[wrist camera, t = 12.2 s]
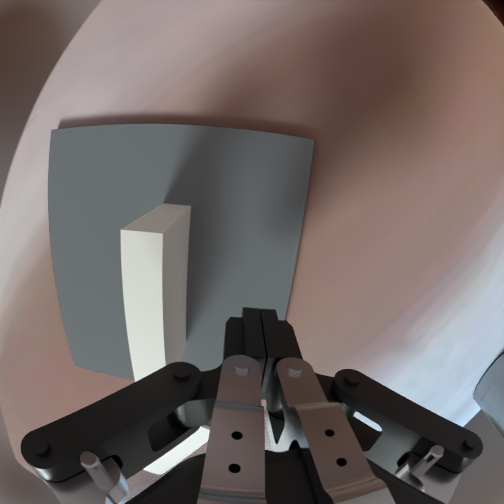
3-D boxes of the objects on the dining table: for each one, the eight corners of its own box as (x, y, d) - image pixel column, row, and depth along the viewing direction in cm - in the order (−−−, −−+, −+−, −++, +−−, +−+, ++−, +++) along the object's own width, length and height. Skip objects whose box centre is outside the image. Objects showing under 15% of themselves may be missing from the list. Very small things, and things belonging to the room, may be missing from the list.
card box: (191, 205, 15) (162, 233, 9) (185, 342, 18) (169, 410, 12) (161, 203, 15) (118, 229, 9) (161, 339, 17) (137, 404, 12)
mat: (311, 140, 15) (314, 139, 14) (267, 389, 20) (267, 395, 20) (56, 130, 13) (51, 129, 13) (77, 361, 19) (74, 365, 18)
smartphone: (106, 453, 23) (143, 401, 20) (108, 448, 24) (145, 395, 20) (160, 475, 25) (218, 433, 21) (161, 471, 26) (218, 426, 22)
